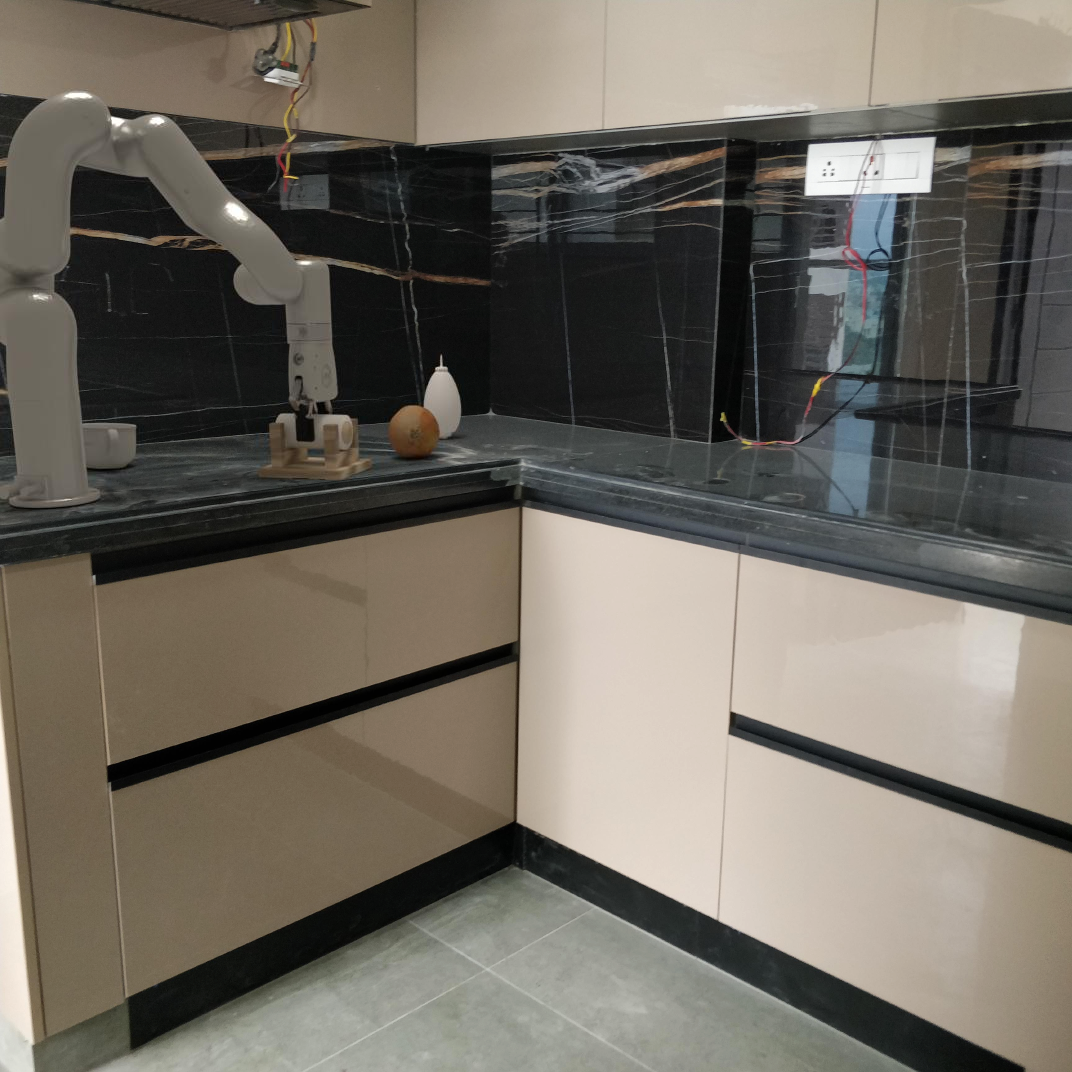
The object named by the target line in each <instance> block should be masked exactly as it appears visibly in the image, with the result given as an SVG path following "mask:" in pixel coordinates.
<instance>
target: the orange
mask: <svg viewBox="0 0 1072 1072" xmlns="http://www.w3.org/2000/svg"><path fill="white" fill-rule="evenodd" d="M387 432H388V440H389V444H390V446H391V447H392V449H393V450H394V451H395V452H396V453H397V454H398V455H400V456H401V457H405V458H416V459H420V458H421V459H422V458H425V457H428V456H429V455H431V453H433V452H434V451H435V449H436V448H437V446H438V444H439V443H438V442H439V435H440V430H439V425H438V422H437V420H436V418H435V417H434V415H433V414H432V413H431V412H430V411H429V410H428V409H426V408H424V406H420V405H405V406H403V407H402V408H400V409H399V411H397V412H396V414H394V416H392V418H391V420H390V422H389V425H388V431H387Z"/></svg>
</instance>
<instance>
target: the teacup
mask: <svg viewBox="0 0 1072 1072" xmlns="http://www.w3.org/2000/svg"><path fill="white" fill-rule="evenodd" d="M82 427H83V437H84V448H85V458H86V468H89V469H96V470H102V469H105V470H107V469H108V470H110V469H120V468H121V469H122V468H125V467H127V466H128V464H129V463H131V462H132V461H133V460H134V458H135V456H136V451H137V430H136V429H137V425H136V424H131V423H116V422H114V423H113V422H112V423H111V422H110V423H109V422H94V423H93V422H92V423H91V422H90V423H89V422H87V423H86V422H85V423H82Z"/></svg>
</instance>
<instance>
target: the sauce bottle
mask: <svg viewBox="0 0 1072 1072" xmlns="http://www.w3.org/2000/svg"><path fill="white" fill-rule="evenodd" d="M439 358H440V360H439V362H440V363H439V364H440V365H439V366H437V367H435V369H434V370H435V371H434V373H433V374H432V375H431V377H430V378H429V381H428V385H427V386H426V389H425V394H424V399H423V408H426V409H428V410H429V411H430V412H431V413H432V414H433V415H434V417H435V418H436V420H437V422H438V425H439V430H440V435H439V439H441V440H443V439H444V440H445V439H448V438H449V437H452V433H454V432H456V431H457V429H458V427H459V424H460V423H461V416H462V404H461V396H460V394H459V390H458V387H457V384H456V382H455V380H454V378H453V376H452V375H451V373H450V372H449V369H448V367H447V366H443V355H442V354H440V357H439Z"/></svg>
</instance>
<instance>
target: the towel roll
mask: <svg viewBox="0 0 1072 1072" xmlns="http://www.w3.org/2000/svg"><path fill="white" fill-rule="evenodd" d="M311 418H314V434H315V440H314V441H313V442H298V441H297V440H296V424H295V418H294V413H280V414H279V415H278V416H277V417H276V420H275V423H284V430H285V448H306V449H307V450H308V449H309V450H310V449H311V450H324V432H323V425H325V424H338V434H339V450H347V449H349V447H350V446H351V443H352V439H353V425H352V421H351V419H352V418H351V417H350V416H349V415H347V414H331V415H323V414H317V413H312V416H311Z"/></svg>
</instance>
